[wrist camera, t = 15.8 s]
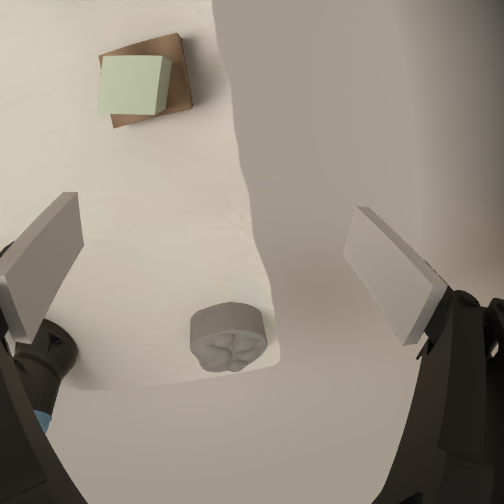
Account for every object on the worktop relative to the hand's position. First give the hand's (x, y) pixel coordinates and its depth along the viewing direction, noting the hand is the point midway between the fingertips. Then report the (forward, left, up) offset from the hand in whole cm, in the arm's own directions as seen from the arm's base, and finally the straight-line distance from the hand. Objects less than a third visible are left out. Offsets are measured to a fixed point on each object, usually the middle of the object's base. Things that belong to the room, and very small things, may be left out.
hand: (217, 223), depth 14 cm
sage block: (-9, +6, -26) cm, 28 cm away
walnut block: (-9, +6, -31) cm, 33 cm away
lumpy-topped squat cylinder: (+6, -35, -31) cm, 47 cm away
